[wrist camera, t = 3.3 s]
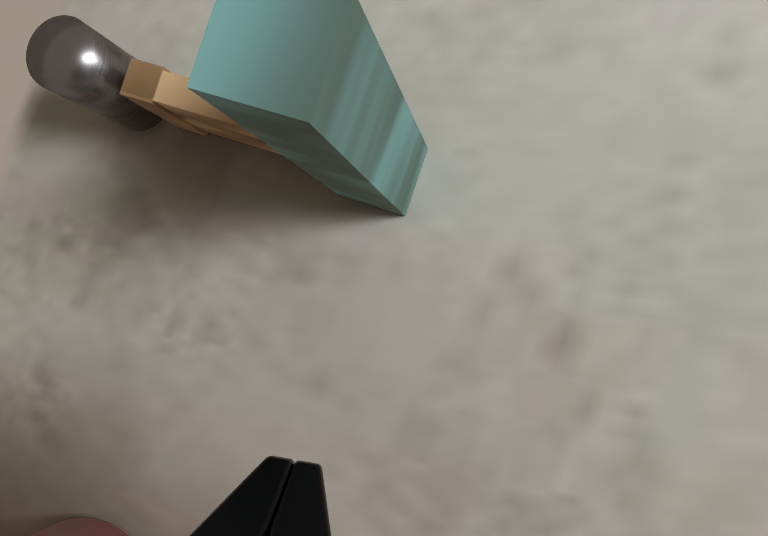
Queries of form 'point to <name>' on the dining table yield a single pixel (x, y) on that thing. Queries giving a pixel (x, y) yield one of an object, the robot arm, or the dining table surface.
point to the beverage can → (82, 528)
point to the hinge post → (85, 70)
